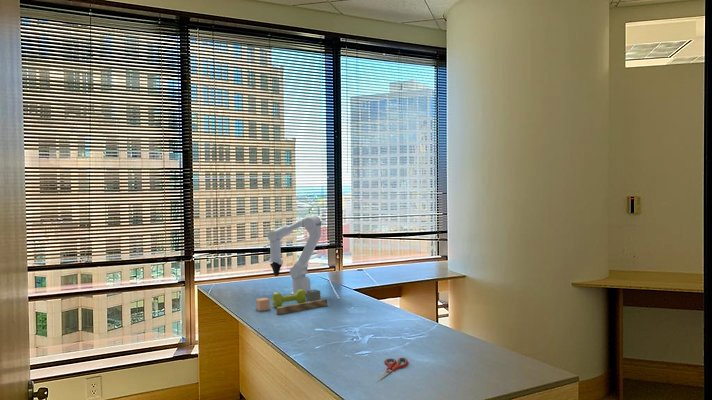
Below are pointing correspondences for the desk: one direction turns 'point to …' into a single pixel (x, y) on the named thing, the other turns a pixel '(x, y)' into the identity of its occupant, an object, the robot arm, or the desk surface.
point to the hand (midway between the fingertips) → (276, 275)
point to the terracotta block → (262, 304)
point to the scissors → (393, 366)
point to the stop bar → (301, 306)
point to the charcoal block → (313, 295)
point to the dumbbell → (288, 298)
